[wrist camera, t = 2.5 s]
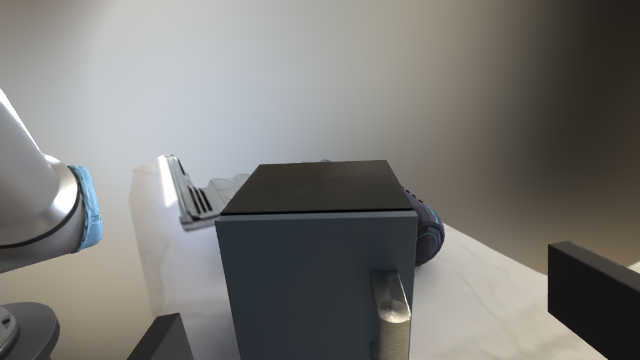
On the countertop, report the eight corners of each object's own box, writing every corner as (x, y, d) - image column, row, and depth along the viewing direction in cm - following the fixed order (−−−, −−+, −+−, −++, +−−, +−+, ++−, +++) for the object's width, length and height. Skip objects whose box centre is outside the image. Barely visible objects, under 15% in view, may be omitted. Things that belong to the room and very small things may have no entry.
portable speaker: (453, 269, 48) (459, 212, 44) (395, 280, 46) (397, 222, 43) (387, 206, 71) (388, 166, 68) (347, 212, 69) (346, 171, 66)
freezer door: (422, 466, 24) (442, 258, 18) (228, 461, 25) (179, 263, 19) (404, 386, 30) (415, 210, 24) (249, 384, 31) (218, 215, 25)
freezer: (403, 385, 31) (414, 207, 24) (250, 383, 32) (219, 212, 25) (383, 291, 44) (386, 159, 37) (275, 292, 45) (259, 164, 38)
